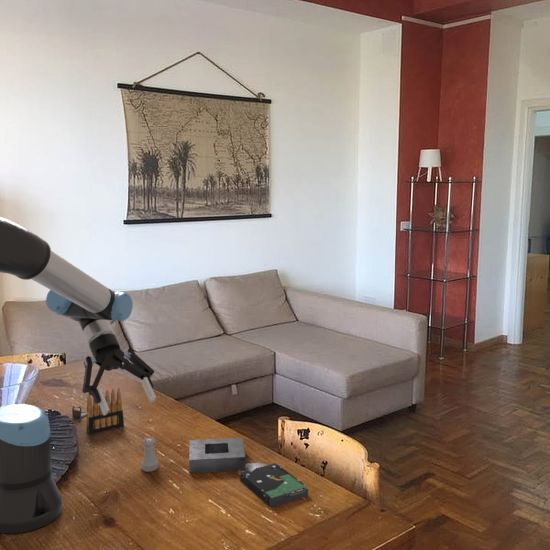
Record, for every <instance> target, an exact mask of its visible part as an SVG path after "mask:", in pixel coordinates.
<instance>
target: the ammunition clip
mask: <svg viewBox="0 0 550 550" xmlns="http://www.w3.org/2000/svg"><path fill="white" fill-rule="evenodd" d="M104 398H105V400H106V402H107V405H108V407H109V411H108V413H107V415H103V413H102V410H101V408H100V405H99V403H97V404H96V403H95V401H94V399H93V398H92V395H90V394H89V393H88V394H87V398H86V400H87V401H86V403H87V404H86V412H87V416H86V434H87V435H93V434H98V433H102V432H106V431H110V430H115V429H119V428H123V427H125V420H124V411H123V401H122V393H121V389H120V387H117V390H116V393H115V390H114V388H112V390H111V393H110V392H109V390H108V389H106V391H105V395H104Z"/></svg>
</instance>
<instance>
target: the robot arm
mask: <svg viewBox="0 0 550 550" xmlns="http://www.w3.org/2000/svg"><path fill="white" fill-rule="evenodd" d="M0 273H2V274H3V273H4V274H8V275H12V276H15V277H17V278H18V279H21V280H25V281H28V280H32V281H34V282H35V283H38V284H39V285H41V286H43V287H44V288H46V289H48V290H49V291H48V292H47V295H46V296H45V297H46V299H45V304H46V307H47V309H49V310H50V311H51V312H52V313H55V314H56V315H59V316H62V317H65V318H68V319H70V320H73V321H75V322H78V324H79V326H80V328H81V330H82V333H83V335H84V337H85V340H86V342H87V344H88V346H89V347H88V348H89V349H90V352H91V354H92V356H93V357H91V356H89V355H88V356H86V357H85V359H84V362H83V365H84V376H83V383H82V390H81V392H82V393H83V394H87V393H88V394H90V396H91V397H92V400H93V399H94V401H95V403H96V404H97V403H98V406H99V405H100V408H101V410H102V413H103V415H107V413H108V411H109V407H108V405H107V402H106V400H105V395H104V393H103V391H102V388H101V387H99V388H98V386H99V384H100V381H101V380H102V377H103V374H104V372H105V371H107V372H110V371H112V370H118V369H120V370H123V371H124V370H125V371H126V372H128V373H130V374H131V375H133V376H135V377H136V378H138V379H140V380H141V382H140V383H141V386H142V389H143V391H144V393H145V395H146V397H147V399H148V401H149V403H154V401H155V400H156V399H157V397H156V393H155V392H154V389H153V388H154V384H153V382H152V379H151V377H153V375H154V373H155V370H154V369H153V368H152V367H151V366H150V365H148V364H147V363H146V362H145V361H144V360H143V359H142V358H140V356H138V355H137V354H136V352H135V350H134V349H133V348H132V347H129V348H128V349H126V350H124V351H123V350H122V349H121V346H120V343H119V341H118V339H117V336H116V335H115V332H114V330H113V327H112V325H111V323H110V321H112V322H116V321H118V322H119V321H126V320H128V319H129V318H130V316H131V314H132V312H133V307H134V303H133V298H132V296H131V295H130V293H127V292H124V291H123V292H122V291H115V290H114V291H113V290H112V289H111V288H109V287H107V285H106V286H105V285H104V284H102V283H101V282H100V281H98V280H96V279H95V278H94V277H92V276H90V275H89V274H87V273H86V272H84V271H83V270H81V269H80V268H78V267H77V266H75V265H74V264H72V263H71V262H69V261H68V260H66V259H65V258H64V257H61V256H60V255H59V254H57V253H55V252H54V251H52V248H51V246H50V245H49V243H48V242H47V241H46V240H44V239H43V238H41V237H40V236H39V235H37V234H35V233H33V232H32V231H30V230H29V229H27V228H25V227H24V226H21V225H19V224H18V223H15V222H13V221H11V220H9V219H7V218H4V217H1V216H0ZM94 364H96V365H97V366H99V368H98V370H97V374H96V375H95V378H94V381H93V383H92V385H91V378H92V370H93V366H94ZM51 432H52V431H51V427H50V422H49V417H48V414H47V413H46V412H45V410H44V409H42V407H38V406H36V405H32V404H27V403H19V404H15V403H13V404H6V405H2V406H0V533H1V534H21V533H27V532H31V531H35V530H36V529H37V530H38V529H40V528H42V527H45V526H47V525H49V524H50V523H53V521H55V520H56V519H57V518H58V517H59V516H60V515H61V514H62V511H63V499H62V496H61V493H60V490H59V488H58V486H57V484H56V482H55V479H54V477H53V474H52V473H53V471H52V446H51V445H52V444H51V442H52V441H51Z"/></svg>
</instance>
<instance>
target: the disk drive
mask: <svg viewBox="0 0 550 550" xmlns="http://www.w3.org/2000/svg"><path fill="white" fill-rule="evenodd" d="M239 477H240V478H239V479H240V482H241V483H242V484H243V485H244V486H245V487H246V488H248V489H249V490H250V491H251V493H254V494H255V495H256V496H257V497H258V498H259V499H260V501H263V503H265V504H266V505H267V506H268V507H269V508H274V507H277V506H278V507H279V506H281V505H283V504H287V503H289V502H294V501H296V500H299V499H303V498H306V497H309V489H308V488H307V486H306V485H305V484H304V483H303V482H302V481H300V480H299V479H298V478H296V477H295V476H294V475H292V474H291V473H290V472H288V471H287V470H286V469H284V468H283V467H282V466H281V465H279V464H277V463H276V462H275V463H271V464H266V465H263V466H260V467H256V468H255V469H254V470H252V471H251V470H249V469H247V470H243V471H241V472H240V474H239Z"/></svg>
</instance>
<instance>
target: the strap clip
mask: <svg viewBox="0 0 550 550" xmlns="http://www.w3.org/2000/svg"><path fill="white" fill-rule="evenodd" d="M75 408H79V410H77V409H75ZM71 411H72V412H71V413H72V416H71V417H72V418H70V419H71V421H72V422H71V423H74V424H76V423H78V422H79V421H80V420H81V419H84V418H85V417H87V411H83V410H82V407H81V406H78V405H73V407H72V410H71Z"/></svg>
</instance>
